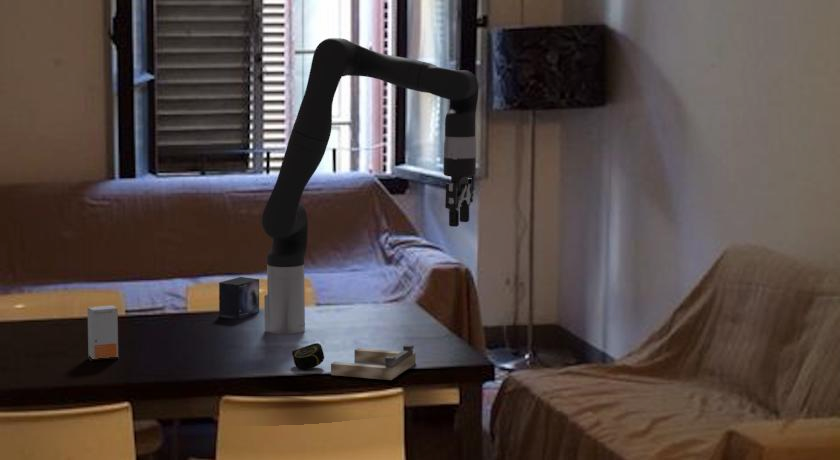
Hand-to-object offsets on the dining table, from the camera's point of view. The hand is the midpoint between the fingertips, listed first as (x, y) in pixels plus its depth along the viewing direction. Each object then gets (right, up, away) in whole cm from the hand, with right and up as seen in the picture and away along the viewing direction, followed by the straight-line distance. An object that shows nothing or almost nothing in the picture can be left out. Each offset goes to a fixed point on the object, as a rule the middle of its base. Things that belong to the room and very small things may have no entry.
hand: (459, 224), depth 306 cm
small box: (-57, -25, +35) cm, 72 cm away
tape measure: (-33, -31, -15) cm, 47 cm away
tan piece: (-20, -32, -19) cm, 42 cm away
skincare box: (-82, -31, -10) cm, 88 cm away
